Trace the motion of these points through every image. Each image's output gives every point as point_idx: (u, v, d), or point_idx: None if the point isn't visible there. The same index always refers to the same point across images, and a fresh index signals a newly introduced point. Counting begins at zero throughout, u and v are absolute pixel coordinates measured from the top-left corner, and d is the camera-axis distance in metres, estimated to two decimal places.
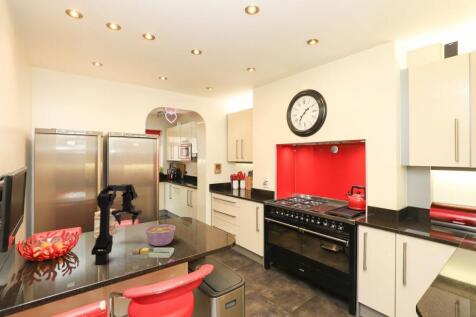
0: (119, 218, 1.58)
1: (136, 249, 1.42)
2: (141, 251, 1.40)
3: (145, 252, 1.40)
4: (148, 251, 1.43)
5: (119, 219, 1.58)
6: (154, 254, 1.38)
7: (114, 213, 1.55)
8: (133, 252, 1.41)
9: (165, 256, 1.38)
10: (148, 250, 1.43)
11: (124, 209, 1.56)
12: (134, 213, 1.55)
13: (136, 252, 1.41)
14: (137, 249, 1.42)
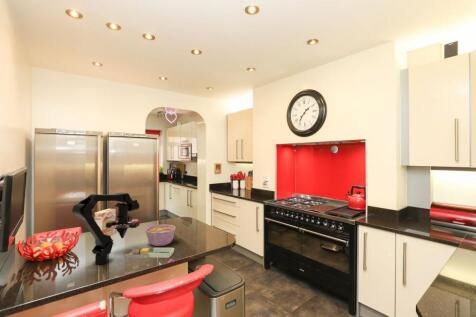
0: None
1: (136, 249, 1.42)
2: (141, 251, 1.40)
3: (145, 252, 1.40)
4: (148, 251, 1.43)
5: None
6: (154, 254, 1.38)
7: (109, 225, 1.40)
8: (133, 252, 1.41)
9: (165, 256, 1.38)
10: (148, 250, 1.43)
11: (120, 221, 1.40)
12: (131, 225, 1.40)
13: (136, 252, 1.41)
14: (137, 249, 1.42)
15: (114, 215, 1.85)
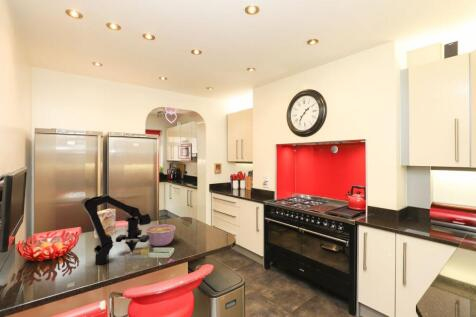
0: None
1: (137, 249, 1.42)
2: (141, 251, 1.40)
3: (145, 252, 1.40)
4: (148, 251, 1.43)
5: None
6: (154, 254, 1.38)
7: (119, 240, 1.40)
8: (134, 252, 1.40)
9: (165, 256, 1.38)
10: (148, 250, 1.43)
11: (130, 235, 1.40)
12: (141, 240, 1.40)
13: (137, 252, 1.40)
14: (138, 249, 1.41)
15: (114, 215, 1.85)
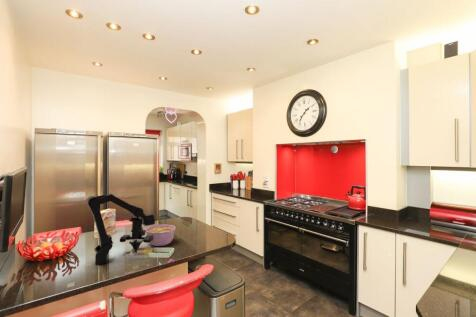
0: None
1: (141, 249, 1.42)
2: (144, 251, 1.40)
3: (148, 252, 1.40)
4: (151, 251, 1.43)
5: None
6: (154, 254, 1.38)
7: (123, 240, 1.40)
8: (138, 252, 1.40)
9: (165, 256, 1.38)
10: (151, 250, 1.43)
11: (134, 235, 1.40)
12: (145, 240, 1.39)
13: (141, 252, 1.40)
14: (142, 249, 1.41)
15: (114, 215, 1.85)
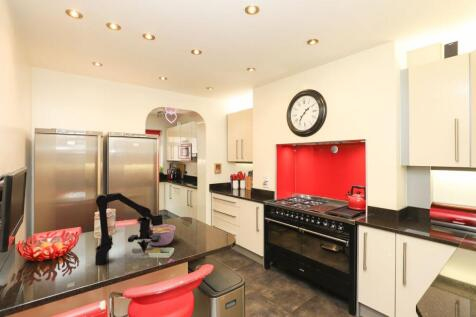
0: None
1: (149, 249, 1.42)
2: (152, 251, 1.41)
3: (156, 252, 1.41)
4: (159, 251, 1.43)
5: None
6: (154, 254, 1.38)
7: (131, 240, 1.40)
8: (146, 252, 1.40)
9: (165, 256, 1.38)
10: (159, 250, 1.43)
11: (142, 235, 1.40)
12: (153, 240, 1.39)
13: (149, 252, 1.40)
14: (150, 250, 1.41)
15: (114, 215, 1.85)
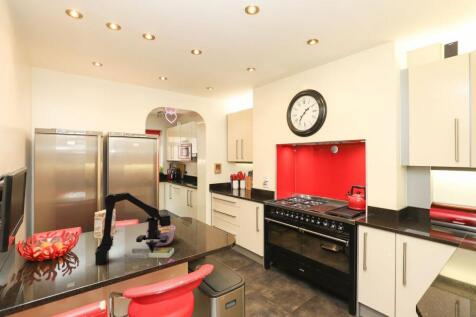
0: None
1: (157, 250, 1.42)
2: (161, 251, 1.40)
3: (165, 252, 1.40)
4: (167, 251, 1.43)
5: None
6: (154, 254, 1.38)
7: (139, 240, 1.39)
8: None
9: (165, 256, 1.38)
10: (167, 250, 1.43)
11: (150, 236, 1.40)
12: (162, 240, 1.39)
13: None
14: (158, 250, 1.41)
15: (114, 215, 1.85)
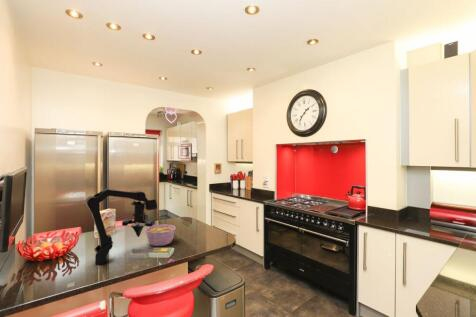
0: None
1: (157, 250, 1.42)
2: (161, 251, 1.40)
3: (165, 252, 1.40)
4: (167, 251, 1.43)
5: None
6: (154, 254, 1.38)
7: (125, 223, 1.40)
8: None
9: (165, 256, 1.38)
10: (167, 250, 1.43)
11: (136, 219, 1.40)
12: (147, 224, 1.40)
13: None
14: (158, 250, 1.41)
15: (114, 215, 1.85)
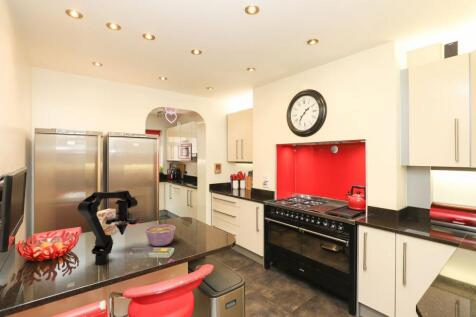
0: None
1: (157, 250, 1.42)
2: (161, 251, 1.40)
3: (165, 252, 1.40)
4: (167, 251, 1.43)
5: None
6: (154, 254, 1.38)
7: (109, 222, 1.42)
8: None
9: (165, 256, 1.38)
10: (167, 250, 1.43)
11: (120, 218, 1.42)
12: (131, 222, 1.42)
13: None
14: (158, 250, 1.41)
15: (114, 215, 1.85)
